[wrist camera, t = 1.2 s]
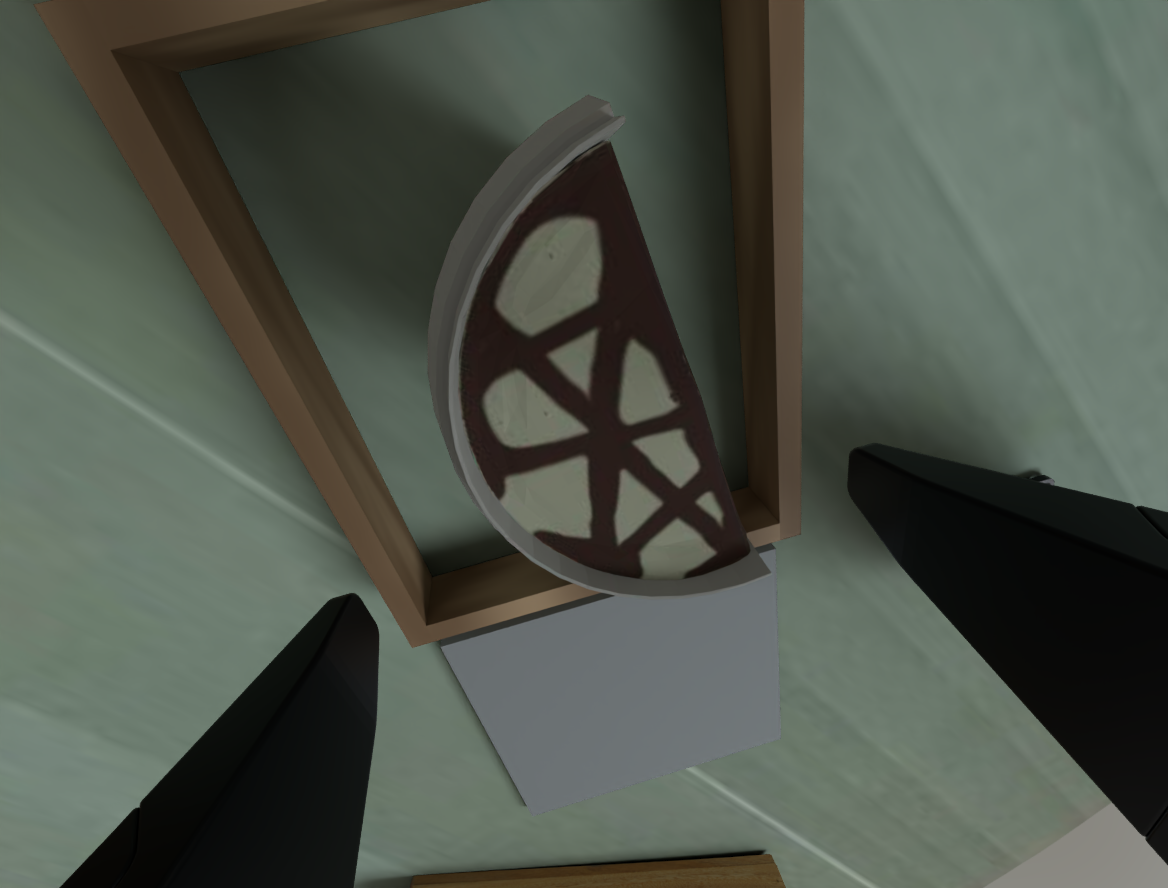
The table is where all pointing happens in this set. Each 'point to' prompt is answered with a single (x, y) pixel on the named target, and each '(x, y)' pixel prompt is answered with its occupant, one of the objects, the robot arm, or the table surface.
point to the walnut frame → (282, 341)
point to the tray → (623, 875)
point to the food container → (578, 380)
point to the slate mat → (624, 687)
